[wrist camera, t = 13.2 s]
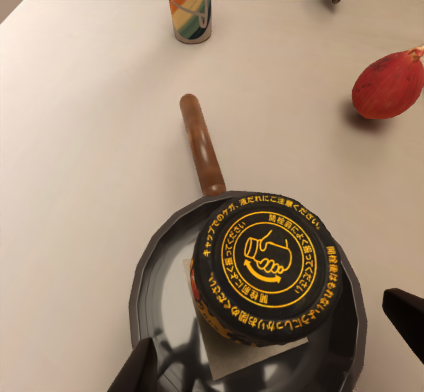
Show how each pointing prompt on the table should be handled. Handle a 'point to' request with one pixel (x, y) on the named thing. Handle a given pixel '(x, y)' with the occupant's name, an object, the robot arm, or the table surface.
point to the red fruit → (389, 85)
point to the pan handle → (201, 147)
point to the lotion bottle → (191, 19)
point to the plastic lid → (423, 58)
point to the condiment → (261, 279)
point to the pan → (192, 339)
